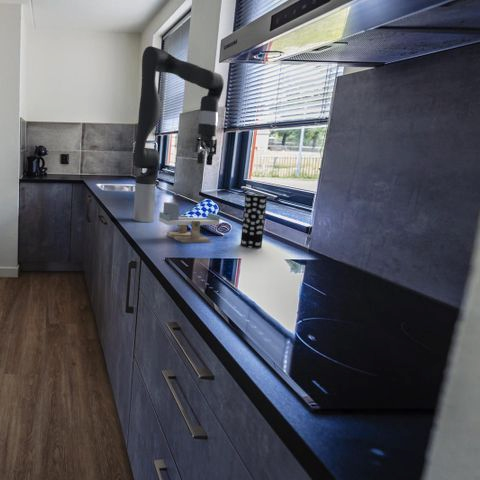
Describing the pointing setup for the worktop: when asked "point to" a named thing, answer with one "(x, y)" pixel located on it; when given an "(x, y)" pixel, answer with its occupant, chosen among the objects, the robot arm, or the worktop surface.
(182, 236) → the pivot stand
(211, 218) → the beam
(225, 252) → the worktop surface
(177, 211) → the steel weight
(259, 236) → the spotted tube
